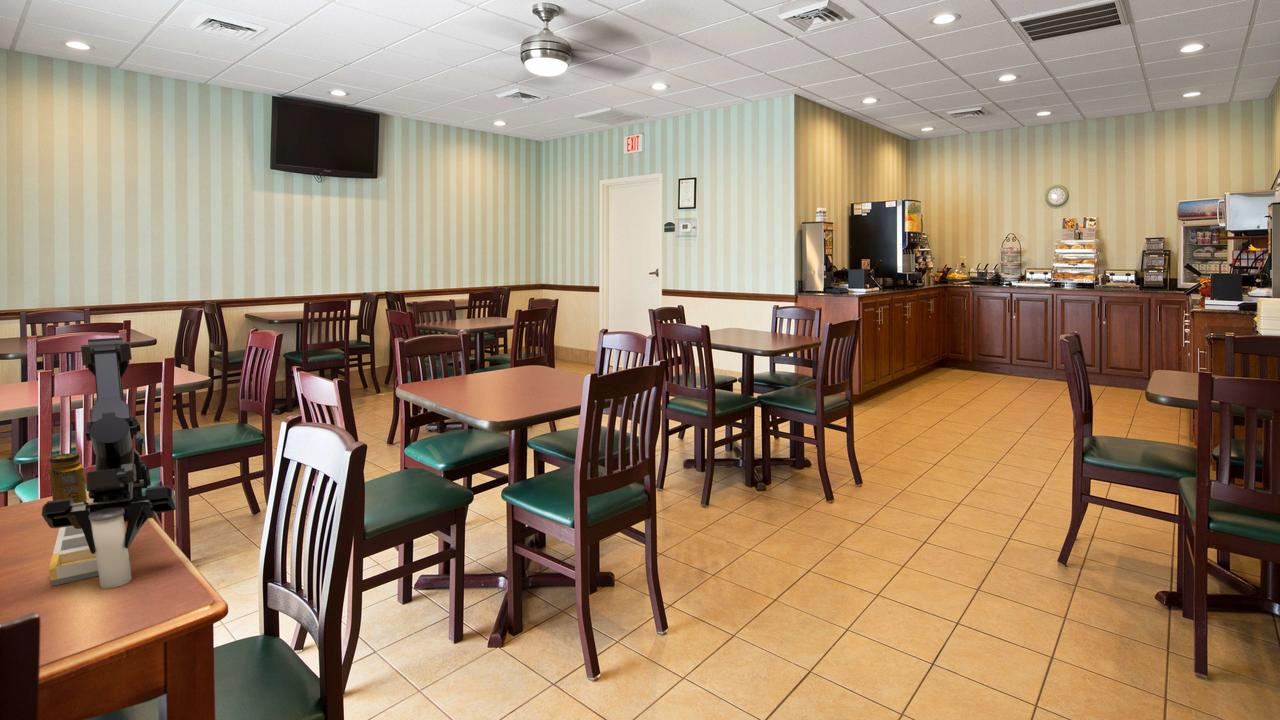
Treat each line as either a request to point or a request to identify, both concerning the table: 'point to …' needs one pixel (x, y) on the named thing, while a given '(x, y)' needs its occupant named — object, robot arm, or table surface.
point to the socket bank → (71, 557)
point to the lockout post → (111, 547)
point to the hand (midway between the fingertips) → (109, 550)
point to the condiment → (67, 478)
